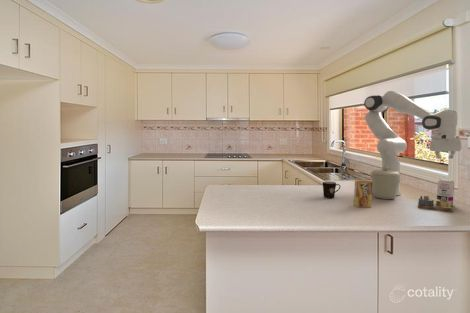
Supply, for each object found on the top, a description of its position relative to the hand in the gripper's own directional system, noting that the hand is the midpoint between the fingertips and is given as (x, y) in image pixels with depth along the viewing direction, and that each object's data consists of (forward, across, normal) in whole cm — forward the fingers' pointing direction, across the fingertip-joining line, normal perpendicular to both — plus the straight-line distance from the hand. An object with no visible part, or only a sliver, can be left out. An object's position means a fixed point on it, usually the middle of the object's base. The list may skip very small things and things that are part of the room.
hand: (444, 158), depth 186 cm
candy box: (+28, +56, 0) cm, 62 cm away
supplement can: (+28, +3, +5) cm, 28 cm away
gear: (+26, +20, +8) cm, 33 cm away
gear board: (+27, +17, +11) cm, 34 cm away
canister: (+28, +26, -18) cm, 42 cm away
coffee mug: (+29, +61, -25) cm, 72 cm away
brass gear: (+26, +14, +14) cm, 32 cm away
